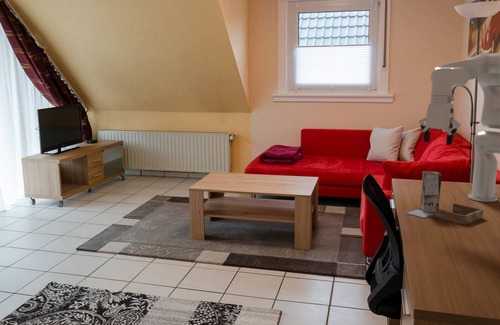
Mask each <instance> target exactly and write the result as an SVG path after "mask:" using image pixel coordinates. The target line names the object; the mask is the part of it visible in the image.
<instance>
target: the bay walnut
mask: <svg viewBox="0 0 500 325" xmlns="http://www.w3.org/2000/svg"><path fill="white" fill-rule="evenodd" d="M434 214H435V215H434V218H437V219H441V220H444V221H448V222H452V223H455V224H461V225H463V226H466V225H468V224H471V223H473V222H475V221H478V220H481V219H483V217H484V209H482V208H477V207H472V206H468V205H463V204H459V203H455V202H453V203H452V211H447V210H443V209H436V210H435V212H434Z"/></svg>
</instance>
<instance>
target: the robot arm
mask: <svg viewBox="0 0 500 325" xmlns="http://www.w3.org/2000/svg"><path fill="white" fill-rule="evenodd" d="M474 79H477V83H478V84H479V86H480V87H481V90H482V94H483V105H482V111H481V118H480V122H481V125H482V127H484V128H487V129H495V130H500V52H495V53H493V52H492V53H490V52H487V53H480V54H478V55H475V56H473V57H471V58H468V59H464V60H463V59H462V60H458V61H454V62H449V63H445V64H442V65H439V66H436V67H435V68H434V69H433V70H432V71H431V74H430V81H431V93H430V94H431V95H430V102H429V104H428V106H427V110H426V115H425V117H424V118H421V119H420V120H418V124H419V125H420V128H421V130H422V132H423V142H424V143H429V142H430V141H431V129H437V130H445V131H446V133H447V135H446V139H445V140H446V141H445V142H446V143H445V145H446V146H451V145H453V142H454V135H455V134H456V133H457V132H458V131H459V129H460V128H461V127H462V124H461V123H460V122H458V121H457V120H456V119H455V108H454V107H455V106H454V103H453V102H454V101H455V97H453V88H455V87H456V88H459V87H464V86H465V85H467V84H468V82H469V81H470V80H471V81H472V80H474ZM495 130H494V131H492V130H483V131H479V132H477V133H476V134H475V135H474V138H473V146H474V147H473V148H474V165H473V166H474V167H473V176H472V185H471V186H472V187H471V193H468V194H467V198H468V199H469V200H473V201H477V202H482V203H483V202H484V203H485V202H487V203H491V202H492V203H494V202H498V199H499V198H498V197H497V196H496V195H495V193H497V192H498V189H497V188H496V181H497V173H498V159H497V157H496V156H495V154H500V131H495Z"/></svg>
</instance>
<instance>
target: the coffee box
mask: <svg viewBox="0 0 500 325" xmlns="http://www.w3.org/2000/svg"><path fill="white" fill-rule="evenodd" d="M442 178H443V177H442V174H441V173H440V172H439V171H433V170H432V171H428V170H423V171H422V179H421V181H422V182H421V190H420V204H419V205H420V206H419V207H420V210H421V211H424V212H429V213H435V210H436V209H439V207H440V197H441V188H442V187H441V186H442Z"/></svg>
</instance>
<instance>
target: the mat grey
mask: <svg viewBox="0 0 500 325" xmlns="http://www.w3.org/2000/svg"><path fill="white" fill-rule="evenodd" d="M406 215H410V216H413V217H417V218H421V219H426V218H428V217H429V218H430V217H431V216H435V213H434V212H424V211H422V209H414V210H412V211H408V212H406Z"/></svg>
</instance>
